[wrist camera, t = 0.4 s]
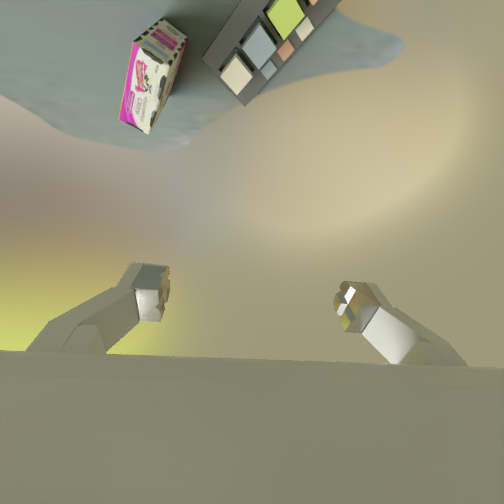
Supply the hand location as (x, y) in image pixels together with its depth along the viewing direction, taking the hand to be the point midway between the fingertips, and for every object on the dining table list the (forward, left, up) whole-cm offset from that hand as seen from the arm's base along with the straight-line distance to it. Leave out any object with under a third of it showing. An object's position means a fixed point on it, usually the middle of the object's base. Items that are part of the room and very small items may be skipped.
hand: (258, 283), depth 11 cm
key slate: (-1, +2, -48) cm, 48 cm away
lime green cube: (-7, +2, -48) cm, 48 cm away
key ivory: (+4, +2, -48) cm, 48 cm away
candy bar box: (+13, -8, -50) cm, 52 cm away
